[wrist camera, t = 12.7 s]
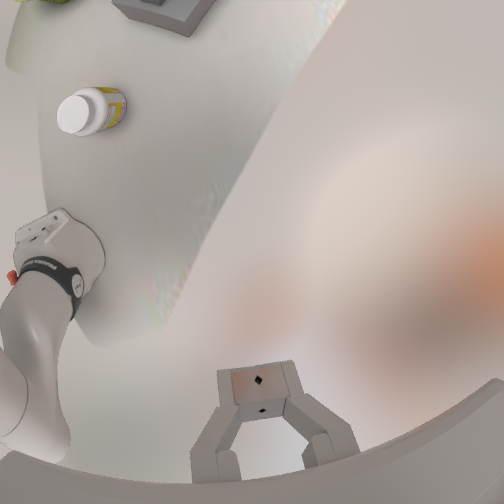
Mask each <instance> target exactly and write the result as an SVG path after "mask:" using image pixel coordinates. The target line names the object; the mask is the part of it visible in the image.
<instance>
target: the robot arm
mask: <svg viewBox="0 0 504 504" xmlns="http://www.w3.org/2000/svg"><path fill="white" fill-rule="evenodd" d="M55 216H56V217H57V218H56V217H55ZM15 242H16V248H15V250H14V254H13V259H14V264H15V267H16V270H17V272H18V275H19V277H17V273H16V271H15V270H12V271H11V272H9V273H8V275H7V277H8V279H9V281H10V283H11V285H15V286H14V287H13V289H12V290H11V291H10V293H9V294H8V296H7V297H6V299H5V301H4V302H3V304H2V306H1V309H0V330H1V335H2V339H3V345H4V351H3V350H2V349H1V347H0V443H2V444H3V445H5V446H6V447H8V448H9V449H11V450H12V451H11V452H9V453H8V454H7V455H6V456H4V457H3V458H2V459H1V460H0V504H504V381H503V380H500V379H498V378H494V379H492V380H490V381H489V382H488V383H486V384H485V385H483V386H482V387H481V388H479V389H478V390H477V391H475V392H474V393H473V394H471V395H470V396H468V397H467V398H465V399H464V400H462V401H461V402H460V403H458V404H457V405H455V406H453V407H452V408H450V409H449V410H447V411H445V412H444V413H442V414H440V415H439V416H437V417H435V418H433V419H432V420H430V421H428V422H426V423H425V424H423V425H421V426H419V427H417V428H415V429H413V430H411V431H409V432H407V433H405V434H403V435H401V436H399V437H397V438H394V439H392V440H390V441H388V442H385V443H383V444H381V445H378V446H376V447H373V448H371V449H368V450H366V451H363V452H360V450H359V447H358V444H357V442H356V439H355V437H354V434H353V431H352V429H351V426H350V424H348V423H347V422H345V421H344V420H343V419H341V418H340V417H339V416H337V415H336V414H334V413H333V412H332V411H330V410H329V409H328V408H326V407H325V406H324V405H322V404H321V403H320V402H318V401H317V400H316V399H314V398H313V397H312V396H311V395H309V394H308V393H306V394H304V392H303V389H302V386H301V383H300V380H299V376H298V373H297V370H296V368H295V364H294V362H293V361H292V360H287V361H282V362H274V363H269V364H263V365H256V366H250V367H243V368H235V369H222V370H217V380H218V390H219V400H220V407H216V409H215V411H214V413H213V414H212V416H211V418H210V419H209V421H208V423H207V425H206V426H205V428H204V430H203V431H202V433H201V435H200V436H199V438H198V440H197V441H196V443H195V444H194V446H193V448H192V449H191V451H190V459H191V471H192V481H193V484H174V483H153V482H141V481H133V480H125V479H118V478H111V477H106V476H100V475H95V474H90V473H86V472H81V471H77V470H73V469H70V468H66V467H62V466H59V465H56V464H54V463H57V462H59V461H60V460H62V459H63V457H65V455H66V454H67V452H68V449H69V446H70V430H69V427H68V425H67V423H66V421H65V418H64V416H63V413H62V410H61V406H60V402H59V395H58V383H57V365H58V354H59V350H60V346H61V343H62V340H63V337H64V335H65V332H66V329H67V326H68V324H69V322H70V321H71V320H72V319H73V318H74V316H75V314H76V312H77V310H78V307H79V305H80V303H81V300H82V298H83V297H84V295H85V294H86V292H89V291H90V289H91V288H92V285H93V282H94V280H95V279H96V278H97V277H98V276H99V275H100V274H101V272H102V270H103V268H104V263H105V256H104V251H103V248H102V245H101V243H100V241H99V239H98V238H97V236H96V235H95V234H94V233H93V232H92V231H91V230H90V229H89V228H88V227H87V226H85V225H84V224H82V223H80V222H78V221H76V220H74V219H73V218H72V217H71V216H70V215H69V214H68V213H67V212H66V211H65V210H64V209H62V208H59V209H57V210H55V211H53V212H51V213H49V214H47V215H45V216H43V217H41V218H39V219H37V220H35V221H33V222H31V223H29V224H27V225H25V226H23V227H22V228H20V229H18V230H17V232H16V234H15ZM230 372H231V374H230ZM280 416H283V418H284V419H285V420H286V421H287V422H288V423H289V424H290V425H291V426H292V427H293V428H294V429H296V430H297V431H298V432H299V433H300V434H301V435H302V436H303V437H304V438H305V439H306V440H307V441H308V442H309V444H308V445H307V447H306V449H305V450H304V452H303V453H302V459H303V462H304V466H305V470H301V471H296V472H292V473H287V474H282V475H277V476H271V477H265V478H259V479H251V480H244V481H242V478H241V473H240V468H239V464H238V460H237V456H236V453H235V452H233V451H232V450H229V449H230V447H231V445H232V443H233V441H234V439H235V437H236V435H237V433H238V430H239V428H240V426H241V424H242V422H247V421H254V420H259V419H267V418H273V417H280Z"/></svg>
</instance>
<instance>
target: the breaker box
mask: <svg viewBox="0 0 504 504" xmlns="http://www.w3.org/2000/svg"><path fill="white" fill-rule="evenodd" d="M215 1H216V0H112V2H111V3H112V4H114V5H115V6H116V7H117V8H118V9H119V10H120V11H121V12H122V13H124V14H125V15H126V16H127V17H128V18H129V19H133V20H137V21H141V22H144V23H148V24H151V25H154V26H158V27H161V28H164V29H167V30H170V31H173V32H176V33H178V34H181V35H184V36H187V37H190V36H191V34H192V33H193V31H194V30H195V28H196V27H197V25H198V24H199V22H200V21H201V20H202V18H203V17H204V15H205V14H206V13H207V11H208V10H209V9H210V7H211V6H212V5H213V3H214V2H215Z"/></svg>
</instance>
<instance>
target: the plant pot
mask: <svg viewBox="0 0 504 504" xmlns="http://www.w3.org/2000/svg"><path fill="white" fill-rule="evenodd" d="M14 1H16V2H24V1H28V0H14ZM41 1H48V2H54V3H64V2H66V1H68V0H41Z"/></svg>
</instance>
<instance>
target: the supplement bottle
mask: <svg viewBox="0 0 504 504" xmlns="http://www.w3.org/2000/svg"><path fill="white" fill-rule="evenodd" d="M125 110H126V100H125V97H124V95H123V94H122V93H121V92H120V91H119V90H117V89H114V88H103V87H85V88H82V89H79V90H77V91H76V92H74V93H73V94H72V95H71V96H70V97H68V98H66V99H65V100H64V101H63V102H62V103H61V105H60V106H59V108H58V111H57V123H58V126H59V127H60V129H61V130H62V131H64V132H66V133H70V134H71V133H72V134H73V135H76V136H80V137H84V136H89V135H92V134H94V133H96V132H99V131H102V130H104V129H107V128H110V127H112V126H114V125H115V124H117V123H118V122H119V121H120V120H121V119H122V117H123V116H124V113H125Z"/></svg>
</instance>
